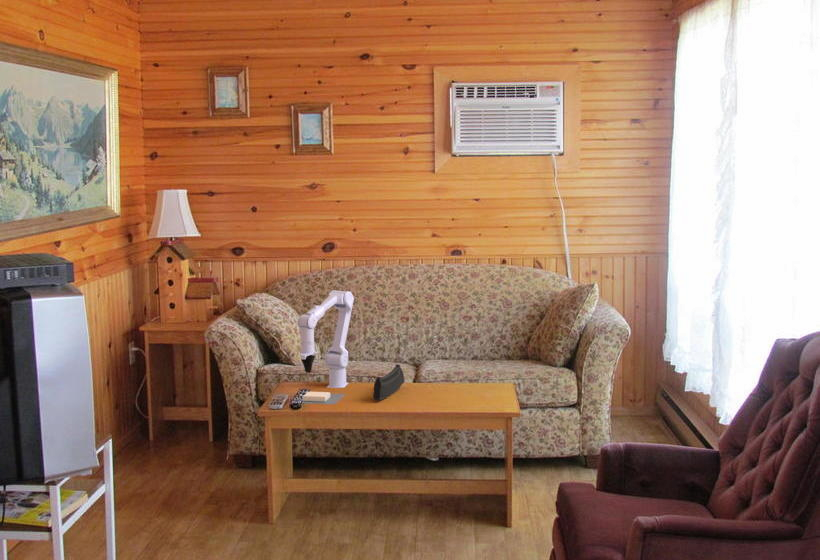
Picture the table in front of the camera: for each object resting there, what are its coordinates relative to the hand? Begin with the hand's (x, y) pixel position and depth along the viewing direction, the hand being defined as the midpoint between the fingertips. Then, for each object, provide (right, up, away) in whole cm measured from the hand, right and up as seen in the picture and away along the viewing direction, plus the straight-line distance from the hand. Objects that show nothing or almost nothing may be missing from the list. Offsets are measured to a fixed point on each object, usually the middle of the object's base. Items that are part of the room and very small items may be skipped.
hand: (308, 372), depth 405 cm
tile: (+5, -9, -4) cm, 11 cm away
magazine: (+36, -10, +1) cm, 37 cm away
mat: (+5, -11, -6) cm, 13 cm away
